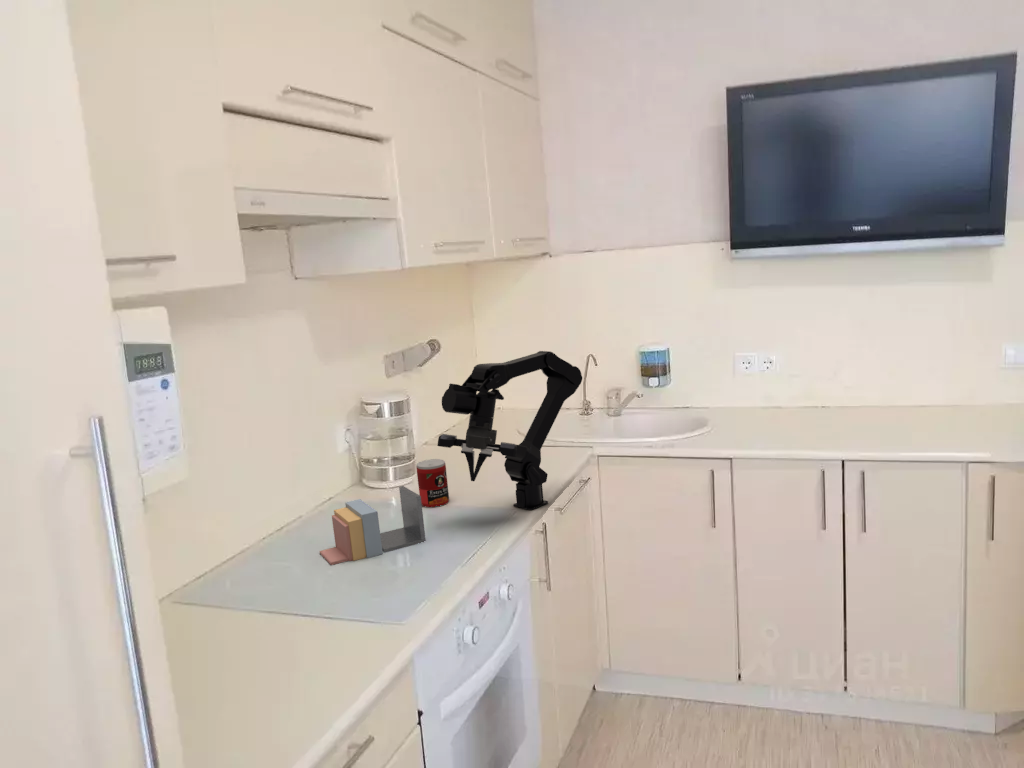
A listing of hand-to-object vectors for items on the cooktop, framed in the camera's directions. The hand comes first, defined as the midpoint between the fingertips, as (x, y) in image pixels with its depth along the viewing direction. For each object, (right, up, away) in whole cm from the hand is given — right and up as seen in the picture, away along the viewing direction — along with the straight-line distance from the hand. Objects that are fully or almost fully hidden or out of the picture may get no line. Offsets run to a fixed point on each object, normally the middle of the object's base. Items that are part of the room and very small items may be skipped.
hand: (472, 481), depth 198 cm
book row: (-27, -15, -10) cm, 33 cm away
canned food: (-11, -8, +21) cm, 25 cm away
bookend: (-17, -13, -5) cm, 22 cm away
